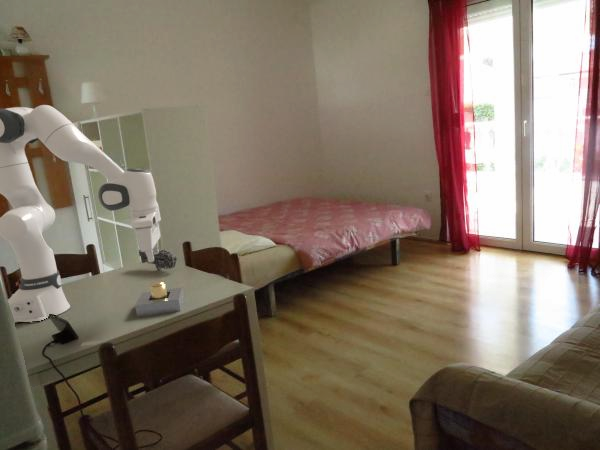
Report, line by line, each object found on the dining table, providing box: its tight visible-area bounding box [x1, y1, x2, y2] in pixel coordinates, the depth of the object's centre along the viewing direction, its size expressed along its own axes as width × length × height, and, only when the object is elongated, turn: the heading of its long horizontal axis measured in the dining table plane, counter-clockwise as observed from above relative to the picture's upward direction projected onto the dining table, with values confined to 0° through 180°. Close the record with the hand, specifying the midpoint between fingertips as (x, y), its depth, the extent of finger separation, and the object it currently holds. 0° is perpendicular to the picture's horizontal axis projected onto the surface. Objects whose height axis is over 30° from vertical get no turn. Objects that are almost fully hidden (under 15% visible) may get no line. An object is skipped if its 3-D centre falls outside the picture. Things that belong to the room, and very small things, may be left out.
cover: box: [149, 280, 168, 300], centre depth 161 cm, size 5×5×9 cm
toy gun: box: [138, 248, 178, 271], centre depth 208 cm, size 3×24×10 cm, turn 55°
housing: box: [134, 287, 185, 318], centre depth 162 cm, size 14×12×5 cm
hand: (153, 257), depth 158 cm, fingers open, 8 cm apart
